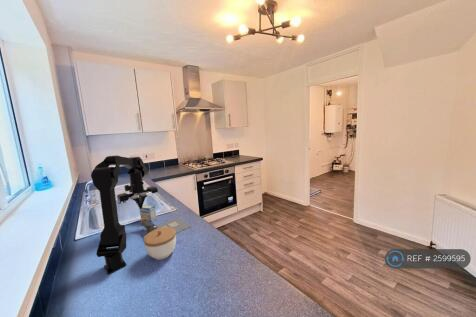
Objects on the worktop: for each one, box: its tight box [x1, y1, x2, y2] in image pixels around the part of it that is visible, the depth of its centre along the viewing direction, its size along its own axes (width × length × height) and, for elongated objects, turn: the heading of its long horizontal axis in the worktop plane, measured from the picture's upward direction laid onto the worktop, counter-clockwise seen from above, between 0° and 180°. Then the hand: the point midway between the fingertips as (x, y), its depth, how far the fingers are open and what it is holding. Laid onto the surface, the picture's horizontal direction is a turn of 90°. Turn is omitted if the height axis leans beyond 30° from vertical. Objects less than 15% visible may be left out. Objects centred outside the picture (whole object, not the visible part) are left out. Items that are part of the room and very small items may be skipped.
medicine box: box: [139, 204, 157, 223], centre depth 115 cm, size 8×4×9 cm, turn 73°
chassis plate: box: [143, 216, 192, 236], centre depth 103 cm, size 15×19×2 cm
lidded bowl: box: [143, 227, 177, 261], centre depth 82 cm, size 13×13×11 cm
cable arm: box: [140, 217, 158, 232], centre depth 101 cm, size 3×14×4 cm, turn 48°
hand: (140, 208), depth 104 cm, fingers closed
